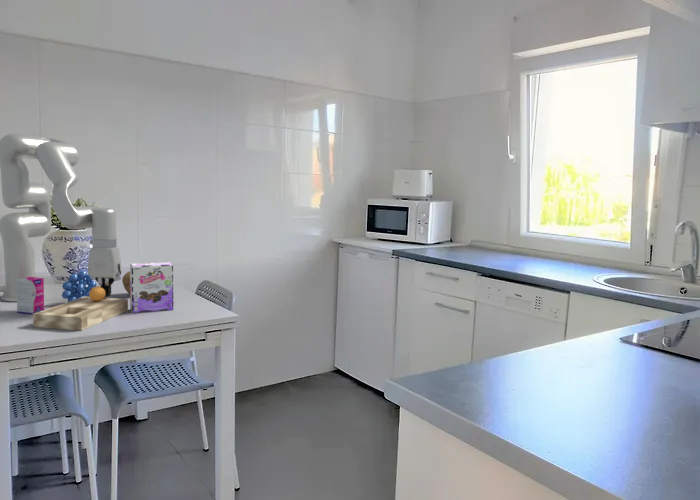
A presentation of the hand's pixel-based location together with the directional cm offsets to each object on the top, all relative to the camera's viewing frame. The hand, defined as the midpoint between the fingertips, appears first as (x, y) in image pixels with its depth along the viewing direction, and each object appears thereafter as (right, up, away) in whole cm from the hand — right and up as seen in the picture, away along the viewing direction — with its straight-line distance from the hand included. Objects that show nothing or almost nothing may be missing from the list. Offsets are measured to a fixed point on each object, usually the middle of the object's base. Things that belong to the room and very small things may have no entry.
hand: (106, 296), depth 184 cm
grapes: (-13, -3, +8) cm, 16 cm away
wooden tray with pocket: (-2, -6, -11) cm, 13 cm away
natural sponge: (+1, -2, +23) cm, 23 cm away
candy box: (+15, -5, +2) cm, 16 cm away
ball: (-1, +1, -5) cm, 5 cm away
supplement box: (-22, -5, -6) cm, 24 cm away
